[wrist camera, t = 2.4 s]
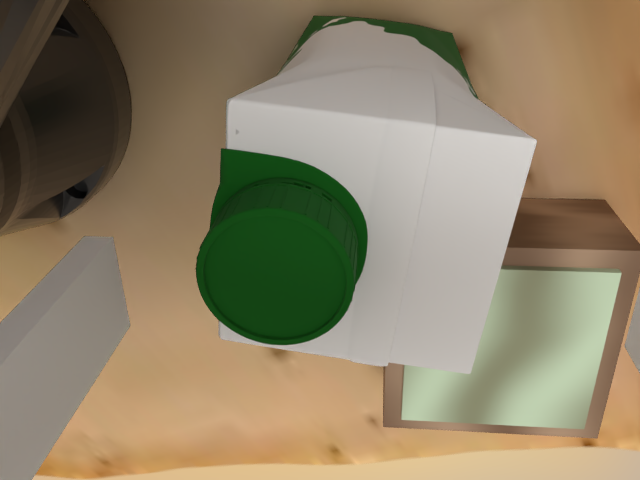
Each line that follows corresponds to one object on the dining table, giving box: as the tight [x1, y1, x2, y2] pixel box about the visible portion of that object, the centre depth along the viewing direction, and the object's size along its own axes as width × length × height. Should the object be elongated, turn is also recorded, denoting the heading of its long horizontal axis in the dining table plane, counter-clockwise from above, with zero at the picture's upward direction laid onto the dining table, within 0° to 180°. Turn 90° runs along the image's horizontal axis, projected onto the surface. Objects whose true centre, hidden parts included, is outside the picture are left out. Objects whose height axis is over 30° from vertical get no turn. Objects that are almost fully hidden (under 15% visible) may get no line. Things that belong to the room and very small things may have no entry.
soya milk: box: [196, 16, 537, 374], centre depth 24 cm, size 9×9×20 cm
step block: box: [383, 198, 640, 438], centre depth 35 cm, size 12×12×6 cm
